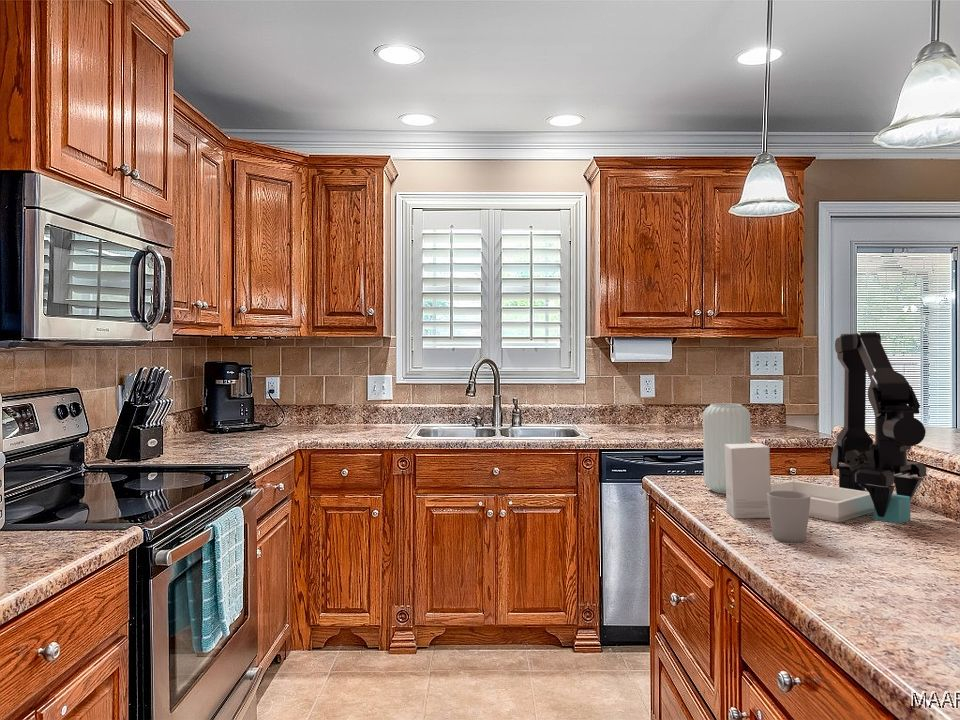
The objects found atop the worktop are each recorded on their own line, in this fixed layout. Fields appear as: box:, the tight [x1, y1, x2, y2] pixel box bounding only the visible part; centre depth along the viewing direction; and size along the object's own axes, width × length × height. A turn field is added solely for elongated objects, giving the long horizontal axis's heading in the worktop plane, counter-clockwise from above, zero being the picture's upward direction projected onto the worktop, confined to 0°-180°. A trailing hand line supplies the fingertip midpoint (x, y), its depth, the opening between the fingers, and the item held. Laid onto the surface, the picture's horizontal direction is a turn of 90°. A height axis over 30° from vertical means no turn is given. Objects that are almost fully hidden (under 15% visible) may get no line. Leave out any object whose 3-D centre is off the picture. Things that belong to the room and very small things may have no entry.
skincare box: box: [725, 442, 772, 520], centre depth 150 cm, size 8×7×16 cm
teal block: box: [873, 493, 911, 524], centre depth 144 cm, size 5×5×5 cm
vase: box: [702, 403, 752, 495], centre depth 176 cm, size 12×12×22 cm
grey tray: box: [771, 479, 874, 523], centre depth 155 cm, size 16×20×4 cm
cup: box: [767, 491, 810, 543], centre depth 132 cm, size 8×10×8 cm
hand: (891, 513), depth 144 cm, fingers open, 9 cm apart
